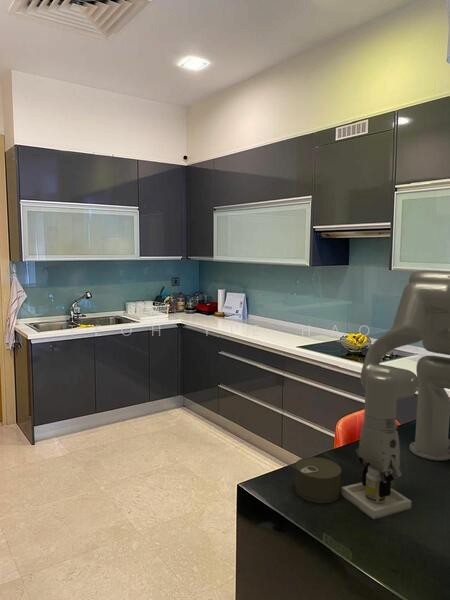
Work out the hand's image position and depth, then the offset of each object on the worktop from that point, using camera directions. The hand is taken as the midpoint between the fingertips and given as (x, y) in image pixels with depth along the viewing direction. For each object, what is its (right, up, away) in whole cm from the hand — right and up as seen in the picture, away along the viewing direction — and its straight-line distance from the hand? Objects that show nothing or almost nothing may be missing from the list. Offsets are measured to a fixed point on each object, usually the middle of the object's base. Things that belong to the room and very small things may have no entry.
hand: (375, 489), depth 114 cm
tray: (0, -3, 0) cm, 3 cm away
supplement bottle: (0, -3, 0) cm, 3 cm away
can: (-14, -3, +5) cm, 15 cm away
